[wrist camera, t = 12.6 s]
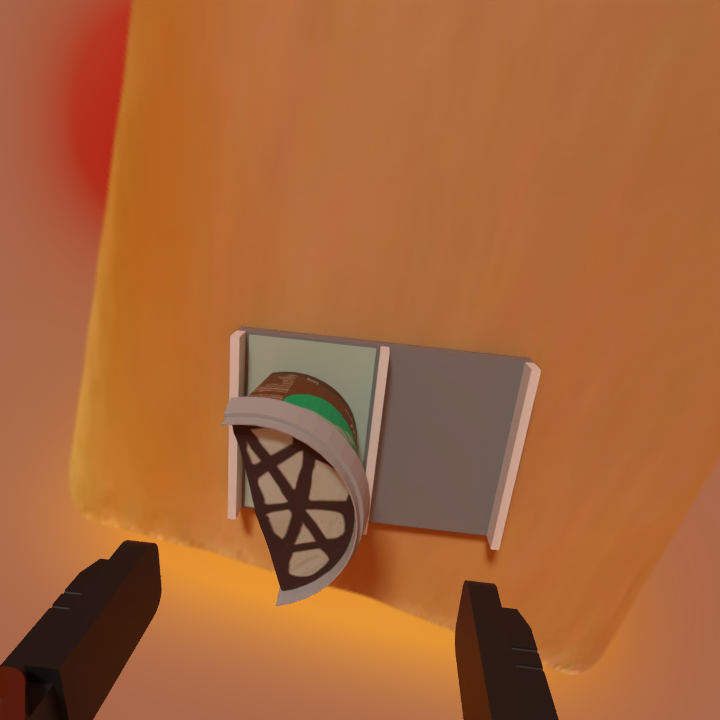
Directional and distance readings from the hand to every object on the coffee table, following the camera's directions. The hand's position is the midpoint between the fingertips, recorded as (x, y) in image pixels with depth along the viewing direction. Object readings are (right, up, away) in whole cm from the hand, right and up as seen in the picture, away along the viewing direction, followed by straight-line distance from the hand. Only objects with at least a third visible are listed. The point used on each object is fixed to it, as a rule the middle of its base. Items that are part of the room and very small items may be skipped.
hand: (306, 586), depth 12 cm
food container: (-1, +1, +22) cm, 22 cm away
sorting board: (+2, 0, +23) cm, 23 cm away
